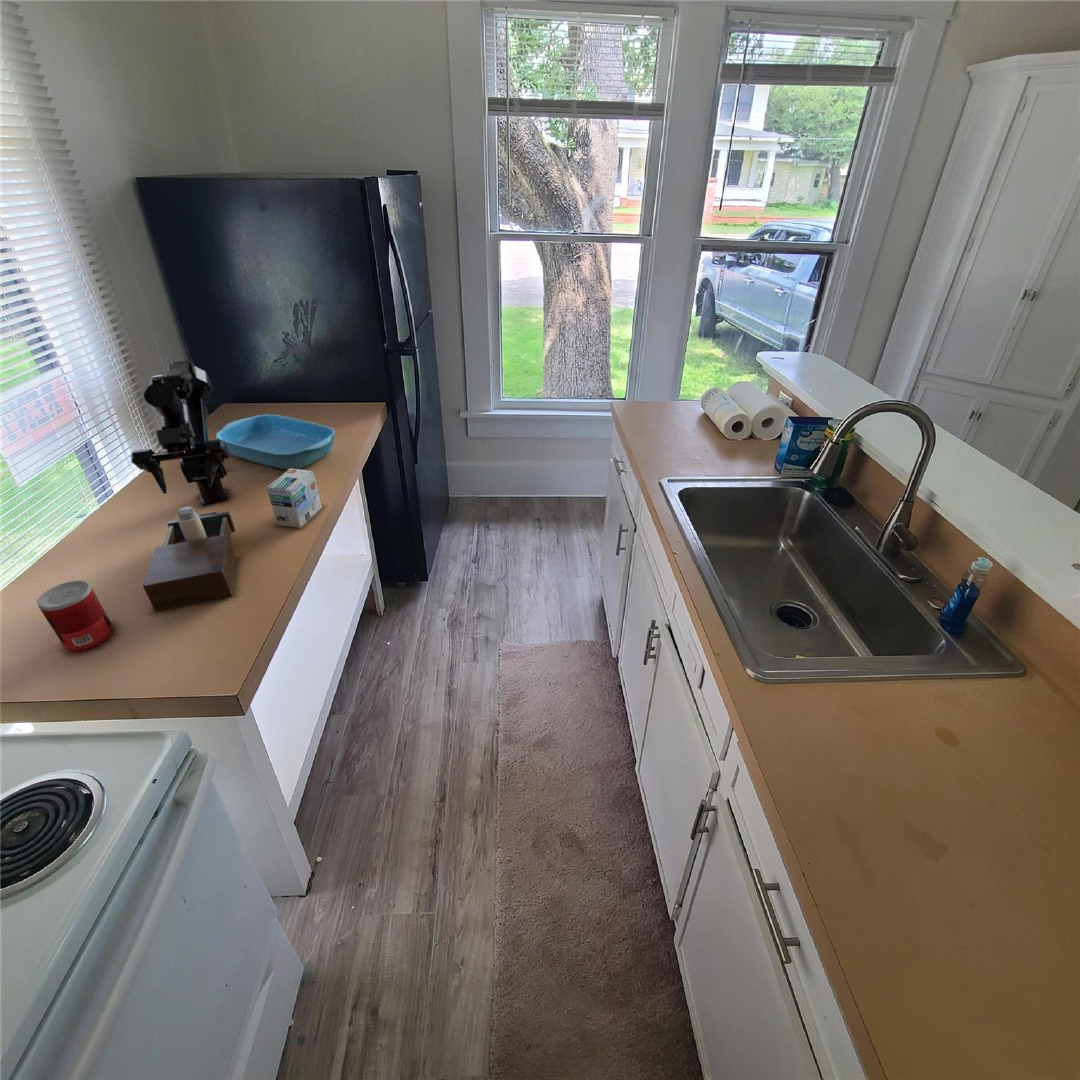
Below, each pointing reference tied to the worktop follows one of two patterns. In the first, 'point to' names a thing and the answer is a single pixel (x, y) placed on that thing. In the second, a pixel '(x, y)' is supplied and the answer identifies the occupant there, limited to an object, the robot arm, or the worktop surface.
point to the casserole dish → (277, 440)
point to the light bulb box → (294, 497)
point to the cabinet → (190, 573)
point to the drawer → (212, 525)
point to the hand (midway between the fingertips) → (187, 489)
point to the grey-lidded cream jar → (190, 524)
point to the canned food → (76, 615)
